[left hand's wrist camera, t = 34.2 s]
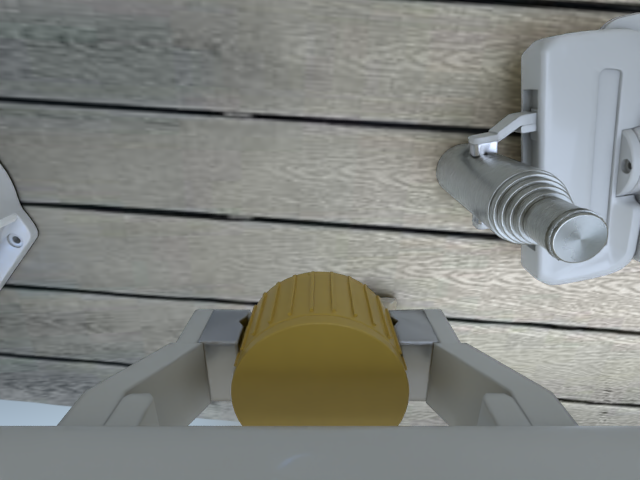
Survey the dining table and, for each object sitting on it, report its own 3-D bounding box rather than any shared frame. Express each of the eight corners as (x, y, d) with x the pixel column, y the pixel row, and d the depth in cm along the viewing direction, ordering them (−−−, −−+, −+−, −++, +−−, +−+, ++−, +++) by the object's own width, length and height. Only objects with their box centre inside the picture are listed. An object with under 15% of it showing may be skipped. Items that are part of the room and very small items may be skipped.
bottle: (462, 132, 35) (589, 170, 17) (498, 164, 36) (654, 231, 18) (425, 174, 36) (509, 247, 19) (461, 203, 37) (572, 299, 20)
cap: (279, 404, 11) (269, 479, 9) (224, 294, 10) (196, 352, 8) (407, 369, 11) (430, 440, 9) (368, 248, 9) (383, 296, 7)
